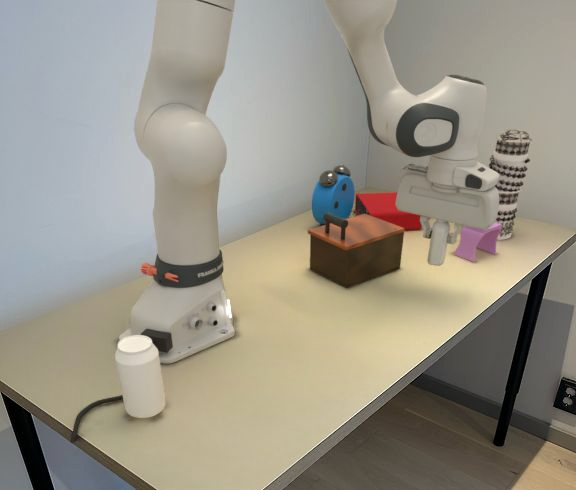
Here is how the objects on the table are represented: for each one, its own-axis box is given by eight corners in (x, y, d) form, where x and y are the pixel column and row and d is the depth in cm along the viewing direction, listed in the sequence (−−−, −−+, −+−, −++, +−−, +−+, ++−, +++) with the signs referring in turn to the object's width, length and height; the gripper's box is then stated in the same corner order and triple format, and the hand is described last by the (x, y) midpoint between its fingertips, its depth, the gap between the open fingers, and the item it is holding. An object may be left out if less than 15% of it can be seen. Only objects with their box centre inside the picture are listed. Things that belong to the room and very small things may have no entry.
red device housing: (354, 210, 168) (356, 193, 166) (403, 208, 170) (405, 191, 167) (368, 232, 154) (370, 213, 151) (421, 230, 155) (423, 211, 152)
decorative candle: (493, 225, 158) (513, 126, 144) (520, 235, 152) (544, 133, 137) (468, 231, 154) (486, 130, 140) (495, 242, 148) (517, 137, 133)
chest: (346, 288, 126) (349, 249, 121) (309, 269, 134) (310, 232, 129) (400, 269, 134) (404, 231, 129) (361, 252, 143) (364, 217, 138)
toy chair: (500, 254, 141) (514, 192, 133) (477, 263, 137) (490, 199, 128) (472, 244, 147) (484, 183, 138) (449, 252, 142) (460, 190, 134)
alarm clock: (334, 216, 165) (337, 160, 156) (354, 220, 162) (357, 164, 153) (310, 229, 156) (311, 171, 147) (330, 234, 153) (332, 175, 144)
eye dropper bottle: (452, 260, 122) (462, 203, 115) (436, 267, 119) (445, 209, 112) (435, 254, 125) (444, 198, 118) (418, 261, 122) (427, 204, 115)
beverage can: (138, 395, 94) (126, 329, 87) (173, 401, 92) (164, 335, 86) (118, 417, 89) (104, 350, 82) (155, 425, 88) (143, 357, 81)
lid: (346, 250, 121) (347, 227, 118) (307, 233, 129) (307, 211, 126) (404, 231, 129) (406, 209, 127) (364, 216, 138) (366, 195, 135)
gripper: (394, 165, 114) (386, 233, 122) (496, 183, 105) (481, 256, 112) (409, 158, 119) (400, 225, 127) (508, 176, 109) (492, 247, 117)
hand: (439, 240), depth 119 cm, fingers closed on eye dropper bottle, 4 cm apart
